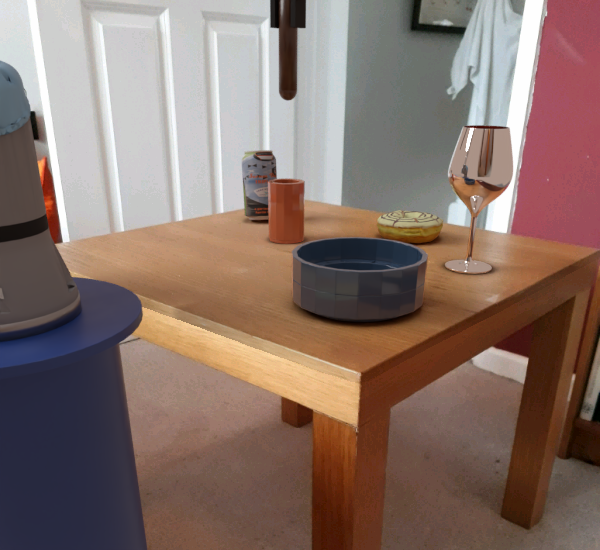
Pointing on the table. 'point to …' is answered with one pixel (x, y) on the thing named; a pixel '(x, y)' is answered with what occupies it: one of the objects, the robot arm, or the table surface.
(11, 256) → the robot arm
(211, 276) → the table surface
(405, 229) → the decorated donut
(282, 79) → the stirring stick
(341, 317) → the bowl
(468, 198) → the wineglass
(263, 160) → the beverage can
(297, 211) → the utensil pot
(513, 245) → the table surface
